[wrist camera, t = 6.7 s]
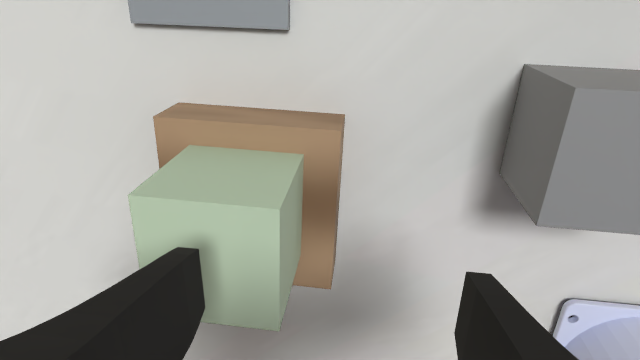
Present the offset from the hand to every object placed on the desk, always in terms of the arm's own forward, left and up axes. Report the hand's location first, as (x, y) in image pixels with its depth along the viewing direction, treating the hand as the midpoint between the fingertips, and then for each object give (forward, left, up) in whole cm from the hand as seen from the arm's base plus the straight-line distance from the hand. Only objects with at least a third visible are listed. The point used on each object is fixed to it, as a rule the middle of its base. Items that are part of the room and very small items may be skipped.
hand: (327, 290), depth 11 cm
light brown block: (-2, +4, -10) cm, 11 cm away
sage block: (-1, +4, -7) cm, 9 cm away
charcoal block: (+2, -10, -10) cm, 14 cm away
